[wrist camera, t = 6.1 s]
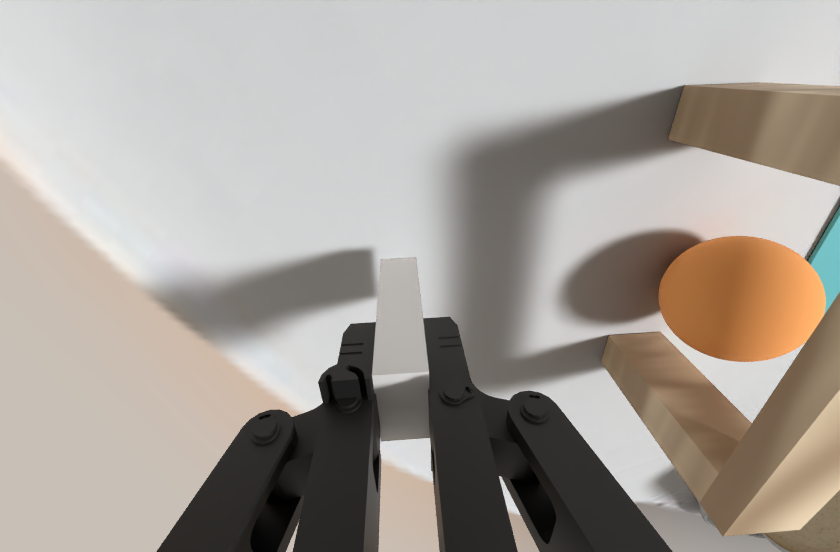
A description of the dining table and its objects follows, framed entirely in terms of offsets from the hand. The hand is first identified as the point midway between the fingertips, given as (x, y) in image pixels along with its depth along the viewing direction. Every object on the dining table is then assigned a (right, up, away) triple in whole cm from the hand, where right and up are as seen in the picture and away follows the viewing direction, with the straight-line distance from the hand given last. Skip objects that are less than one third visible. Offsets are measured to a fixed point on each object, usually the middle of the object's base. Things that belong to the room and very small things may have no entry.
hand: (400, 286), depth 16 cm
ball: (+15, -1, 0) cm, 15 cm away
